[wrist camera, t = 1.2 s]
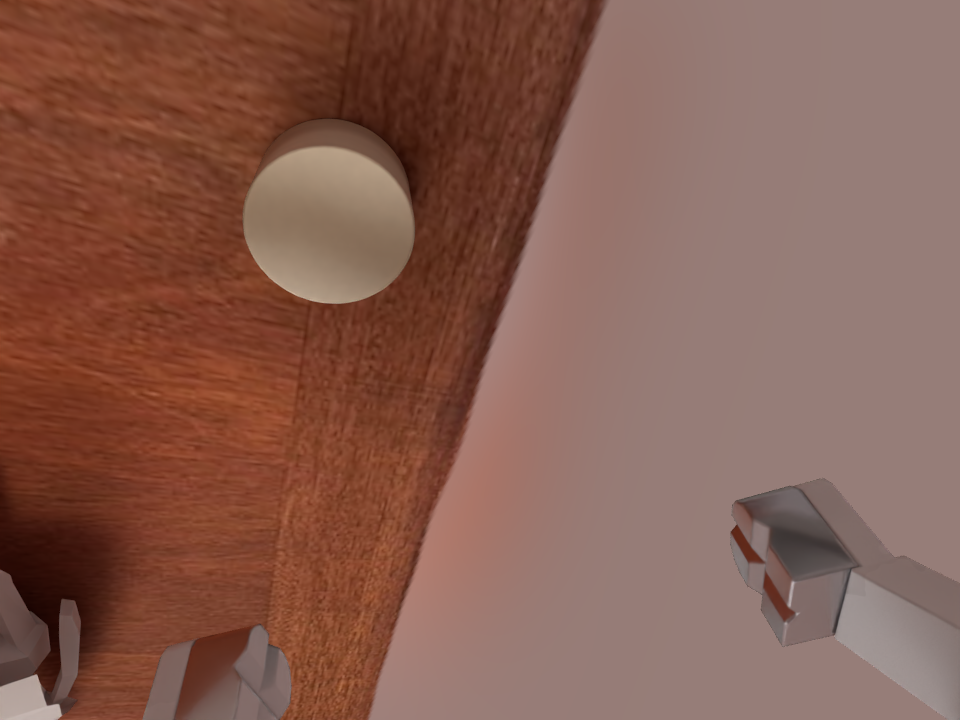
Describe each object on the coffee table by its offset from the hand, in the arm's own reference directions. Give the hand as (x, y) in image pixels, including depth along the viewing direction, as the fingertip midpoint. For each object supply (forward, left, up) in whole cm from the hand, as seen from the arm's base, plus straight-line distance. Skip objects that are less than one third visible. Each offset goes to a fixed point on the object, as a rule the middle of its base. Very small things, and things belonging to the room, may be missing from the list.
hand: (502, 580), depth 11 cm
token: (0, -4, -14) cm, 15 cm away
